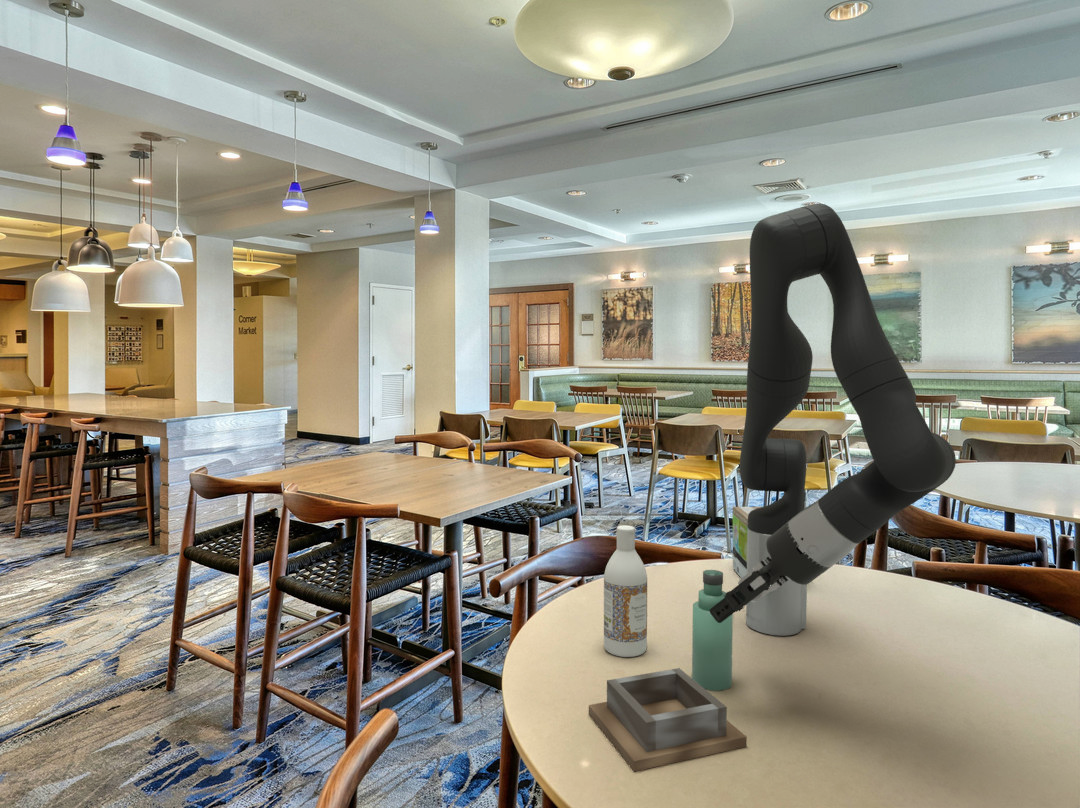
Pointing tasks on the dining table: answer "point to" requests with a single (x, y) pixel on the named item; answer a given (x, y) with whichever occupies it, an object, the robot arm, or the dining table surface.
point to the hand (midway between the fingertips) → (726, 607)
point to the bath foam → (625, 598)
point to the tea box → (740, 538)
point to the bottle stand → (664, 719)
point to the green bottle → (711, 637)
